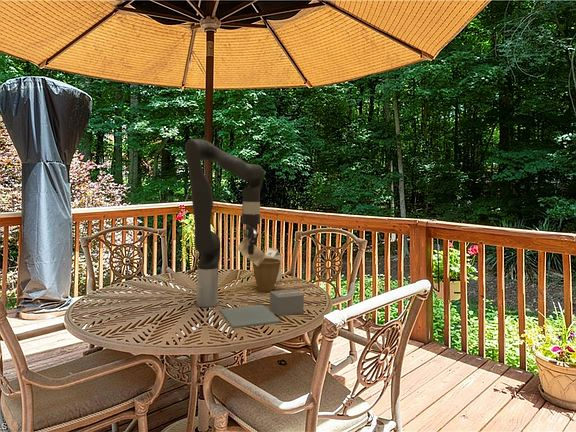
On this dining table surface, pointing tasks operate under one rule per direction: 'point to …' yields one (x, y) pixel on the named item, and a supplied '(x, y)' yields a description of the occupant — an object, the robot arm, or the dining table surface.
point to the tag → (255, 257)
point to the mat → (249, 316)
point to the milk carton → (276, 255)
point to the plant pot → (266, 274)
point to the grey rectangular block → (286, 302)
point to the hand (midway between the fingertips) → (250, 253)
